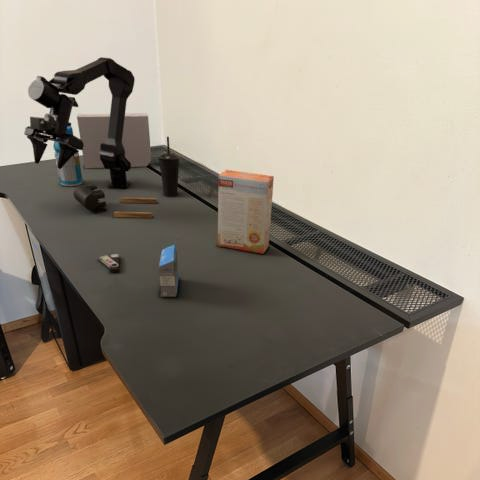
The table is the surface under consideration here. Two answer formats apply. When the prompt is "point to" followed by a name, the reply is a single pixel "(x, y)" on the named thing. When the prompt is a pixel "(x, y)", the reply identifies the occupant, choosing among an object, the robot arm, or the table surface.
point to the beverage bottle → (69, 166)
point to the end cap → (90, 198)
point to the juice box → (169, 271)
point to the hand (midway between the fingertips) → (47, 165)
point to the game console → (133, 138)
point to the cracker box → (244, 210)
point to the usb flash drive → (111, 262)
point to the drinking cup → (169, 171)
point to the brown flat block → (136, 214)
